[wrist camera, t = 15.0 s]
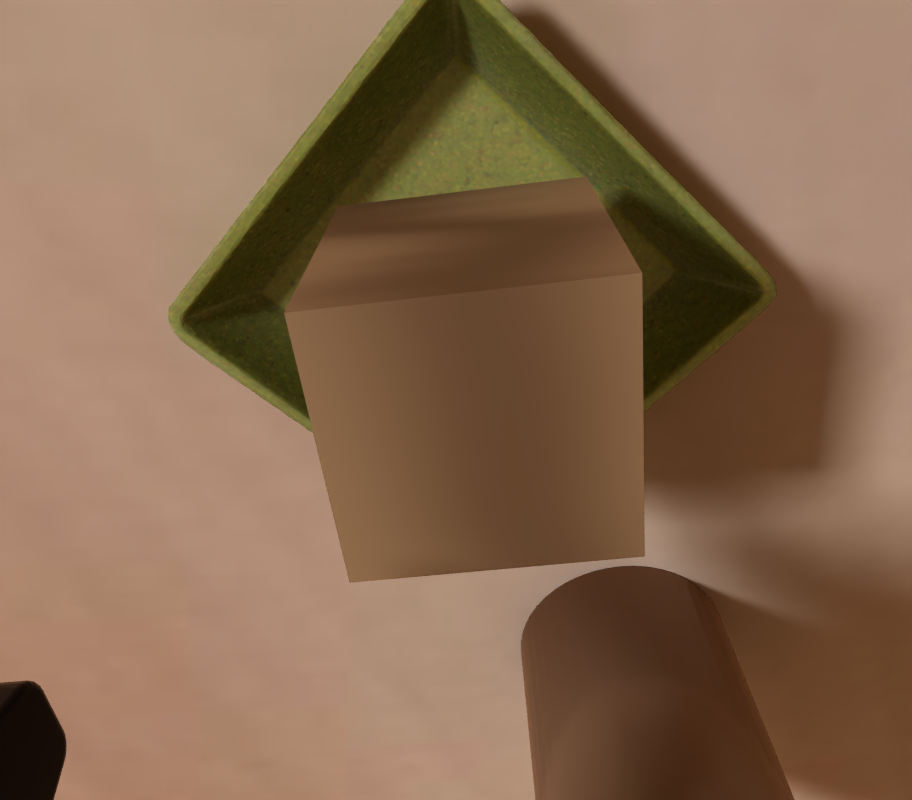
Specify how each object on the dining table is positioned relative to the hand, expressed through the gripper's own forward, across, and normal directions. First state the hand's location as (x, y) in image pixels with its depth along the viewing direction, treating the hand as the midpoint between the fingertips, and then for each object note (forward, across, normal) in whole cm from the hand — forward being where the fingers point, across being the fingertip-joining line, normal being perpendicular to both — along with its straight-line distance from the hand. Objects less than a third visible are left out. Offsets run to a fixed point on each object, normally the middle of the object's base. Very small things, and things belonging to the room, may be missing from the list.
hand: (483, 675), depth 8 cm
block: (+9, 0, 0) cm, 9 cm away
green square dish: (+11, 0, 0) cm, 11 cm away
